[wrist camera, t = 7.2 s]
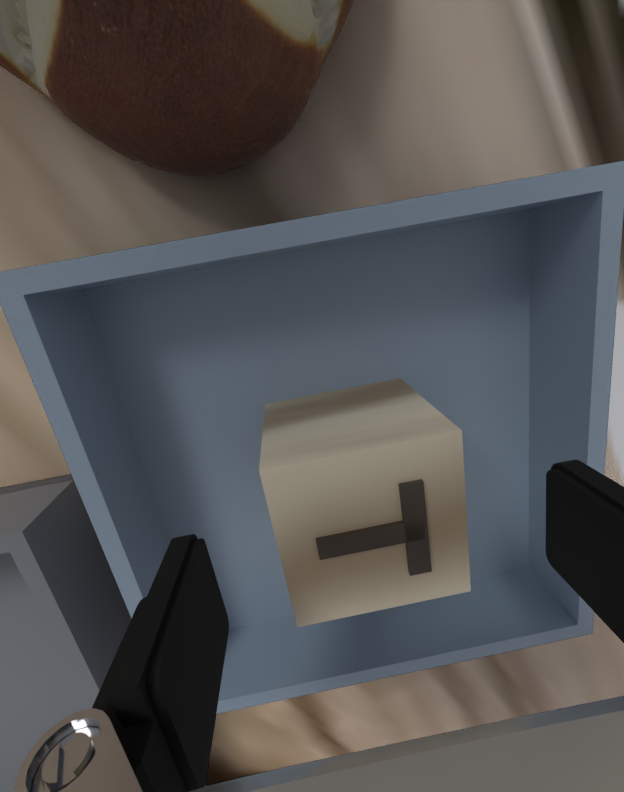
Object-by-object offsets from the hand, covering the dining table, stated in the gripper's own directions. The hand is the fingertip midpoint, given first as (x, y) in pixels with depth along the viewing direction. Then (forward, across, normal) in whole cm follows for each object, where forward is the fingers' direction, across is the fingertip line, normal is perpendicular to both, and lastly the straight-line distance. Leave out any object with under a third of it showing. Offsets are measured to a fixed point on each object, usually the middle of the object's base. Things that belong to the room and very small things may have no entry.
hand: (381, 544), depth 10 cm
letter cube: (+5, 0, 0) cm, 5 cm away
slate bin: (+6, 0, 0) cm, 6 cm away
